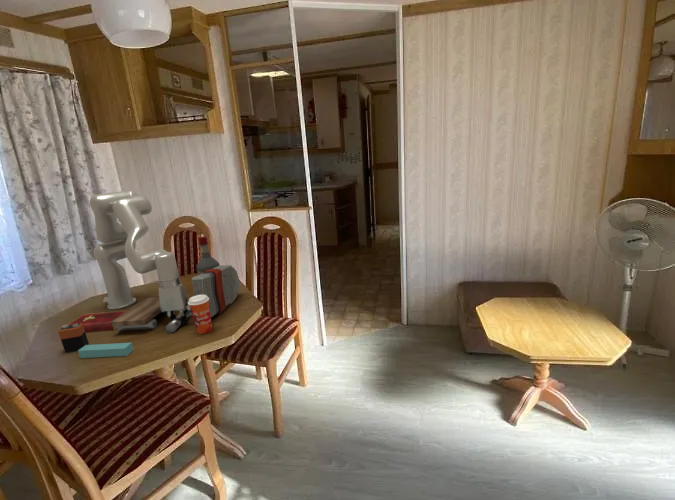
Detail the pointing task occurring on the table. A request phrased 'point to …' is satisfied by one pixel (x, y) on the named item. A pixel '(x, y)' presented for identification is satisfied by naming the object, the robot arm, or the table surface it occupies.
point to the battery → (73, 337)
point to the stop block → (105, 350)
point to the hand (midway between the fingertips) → (179, 323)
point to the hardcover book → (98, 321)
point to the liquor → (205, 257)
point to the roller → (176, 323)
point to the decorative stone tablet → (217, 287)
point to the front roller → (139, 326)
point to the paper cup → (201, 313)
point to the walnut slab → (139, 313)
